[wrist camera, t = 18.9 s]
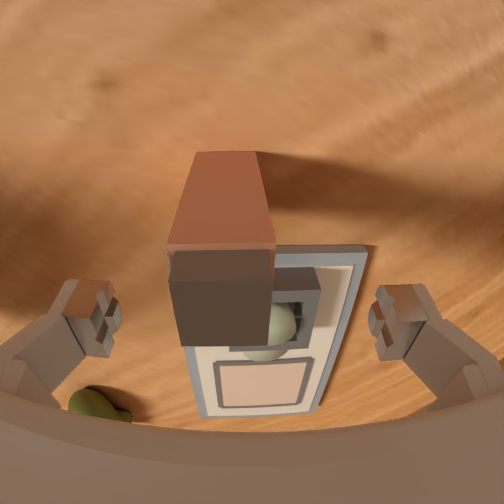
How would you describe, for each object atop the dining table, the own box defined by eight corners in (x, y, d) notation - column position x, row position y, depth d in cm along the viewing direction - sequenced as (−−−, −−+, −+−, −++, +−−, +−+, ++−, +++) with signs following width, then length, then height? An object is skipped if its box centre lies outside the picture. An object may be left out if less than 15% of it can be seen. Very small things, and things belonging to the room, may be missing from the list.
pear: (88, 422, 27) (142, 444, 34) (92, 379, 31) (142, 408, 38) (57, 423, 28) (110, 444, 35) (62, 384, 32) (112, 411, 39)
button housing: (313, 266, 22) (321, 289, 20) (303, 325, 26) (308, 348, 24) (226, 268, 22) (226, 292, 20) (228, 328, 25) (229, 351, 23)
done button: (293, 288, 22) (299, 313, 20) (289, 320, 24) (293, 344, 22) (247, 290, 22) (249, 315, 20) (246, 321, 24) (248, 346, 22)
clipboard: (363, 244, 23) (370, 255, 22) (313, 405, 36) (315, 415, 35) (169, 247, 22) (166, 259, 21) (200, 410, 36) (200, 420, 34)
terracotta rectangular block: (255, 151, 18) (282, 271, 9) (254, 203, 20) (274, 349, 11) (196, 152, 18) (158, 273, 9) (199, 204, 20) (175, 350, 11)
